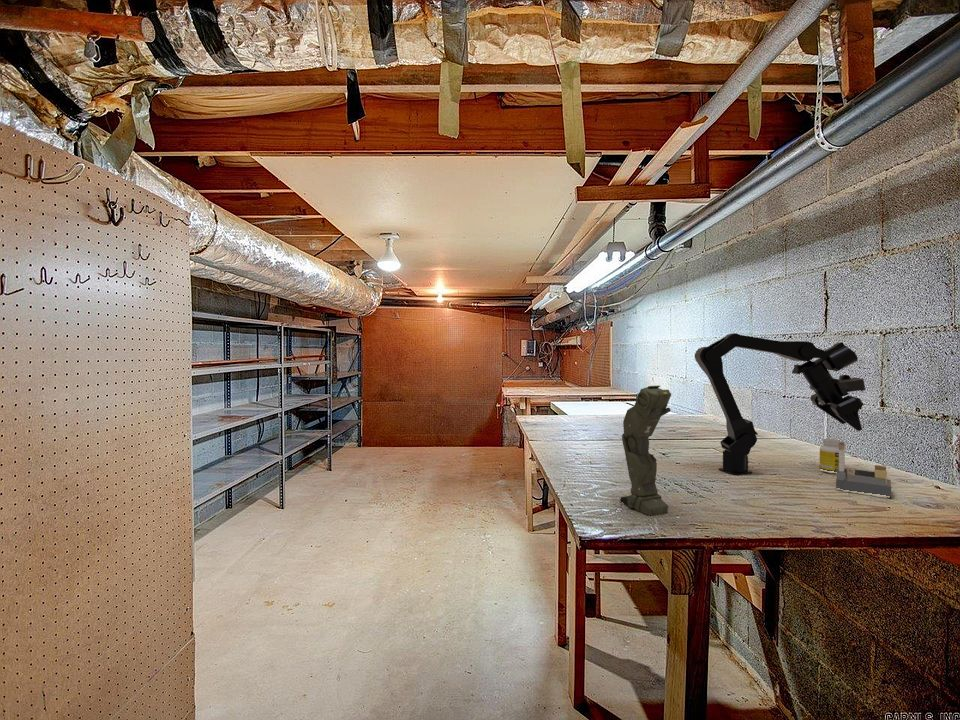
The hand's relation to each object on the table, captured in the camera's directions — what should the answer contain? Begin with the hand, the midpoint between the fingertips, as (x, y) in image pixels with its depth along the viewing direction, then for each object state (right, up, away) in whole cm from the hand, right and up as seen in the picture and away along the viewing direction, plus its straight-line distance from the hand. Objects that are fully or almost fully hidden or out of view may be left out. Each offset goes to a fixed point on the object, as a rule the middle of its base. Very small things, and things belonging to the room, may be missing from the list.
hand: (851, 426), depth 127 cm
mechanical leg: (-68, -16, -23) cm, 74 cm away
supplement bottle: (-2, -15, +5) cm, 16 cm away
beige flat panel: (-11, -11, -10) cm, 18 cm away
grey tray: (-8, -15, -13) cm, 21 cm away
